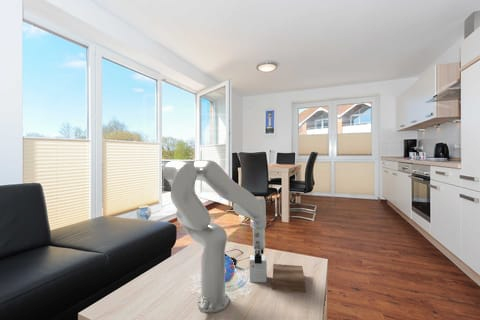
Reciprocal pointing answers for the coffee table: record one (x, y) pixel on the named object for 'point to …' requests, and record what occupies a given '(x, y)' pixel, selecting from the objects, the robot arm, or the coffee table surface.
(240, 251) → the sunglasses
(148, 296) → the coffee table surface
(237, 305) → the coffee table surface
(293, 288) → the walnut block
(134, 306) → the coffee table surface
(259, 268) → the small box
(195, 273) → the coffee table surface
